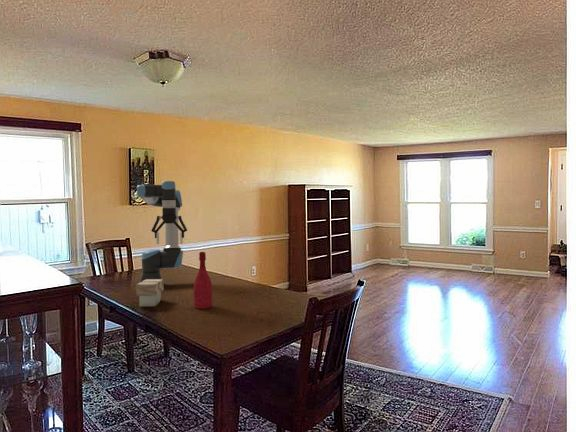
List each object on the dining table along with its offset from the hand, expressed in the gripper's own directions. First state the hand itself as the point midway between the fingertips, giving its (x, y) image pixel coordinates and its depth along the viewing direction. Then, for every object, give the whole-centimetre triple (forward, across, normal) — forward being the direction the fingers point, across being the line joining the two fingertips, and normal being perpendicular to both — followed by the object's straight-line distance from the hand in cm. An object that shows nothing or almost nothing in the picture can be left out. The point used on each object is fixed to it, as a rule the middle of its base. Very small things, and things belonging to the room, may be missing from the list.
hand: (169, 243), depth 250 cm
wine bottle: (+32, +22, -24) cm, 46 cm away
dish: (+32, -8, -13) cm, 35 cm away
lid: (+26, -8, -13) cm, 30 cm away
